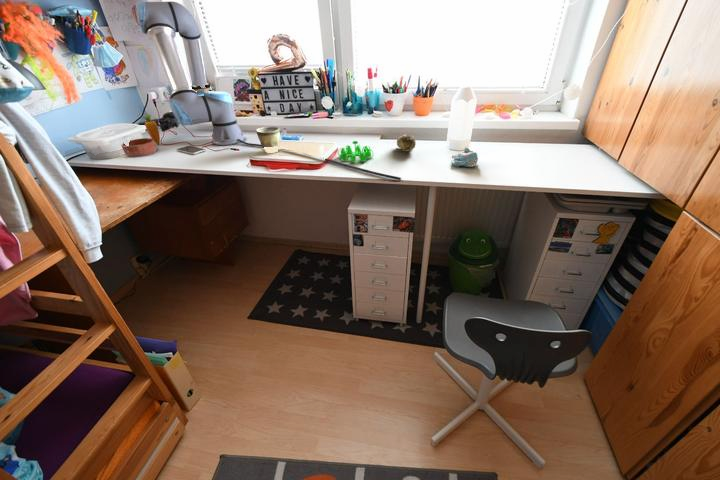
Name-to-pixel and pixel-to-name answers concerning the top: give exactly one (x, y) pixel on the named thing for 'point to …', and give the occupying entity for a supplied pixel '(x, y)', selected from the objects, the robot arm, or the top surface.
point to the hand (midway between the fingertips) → (148, 128)
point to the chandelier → (355, 153)
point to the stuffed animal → (465, 158)
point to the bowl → (139, 147)
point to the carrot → (152, 129)
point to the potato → (406, 142)
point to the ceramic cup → (268, 136)
